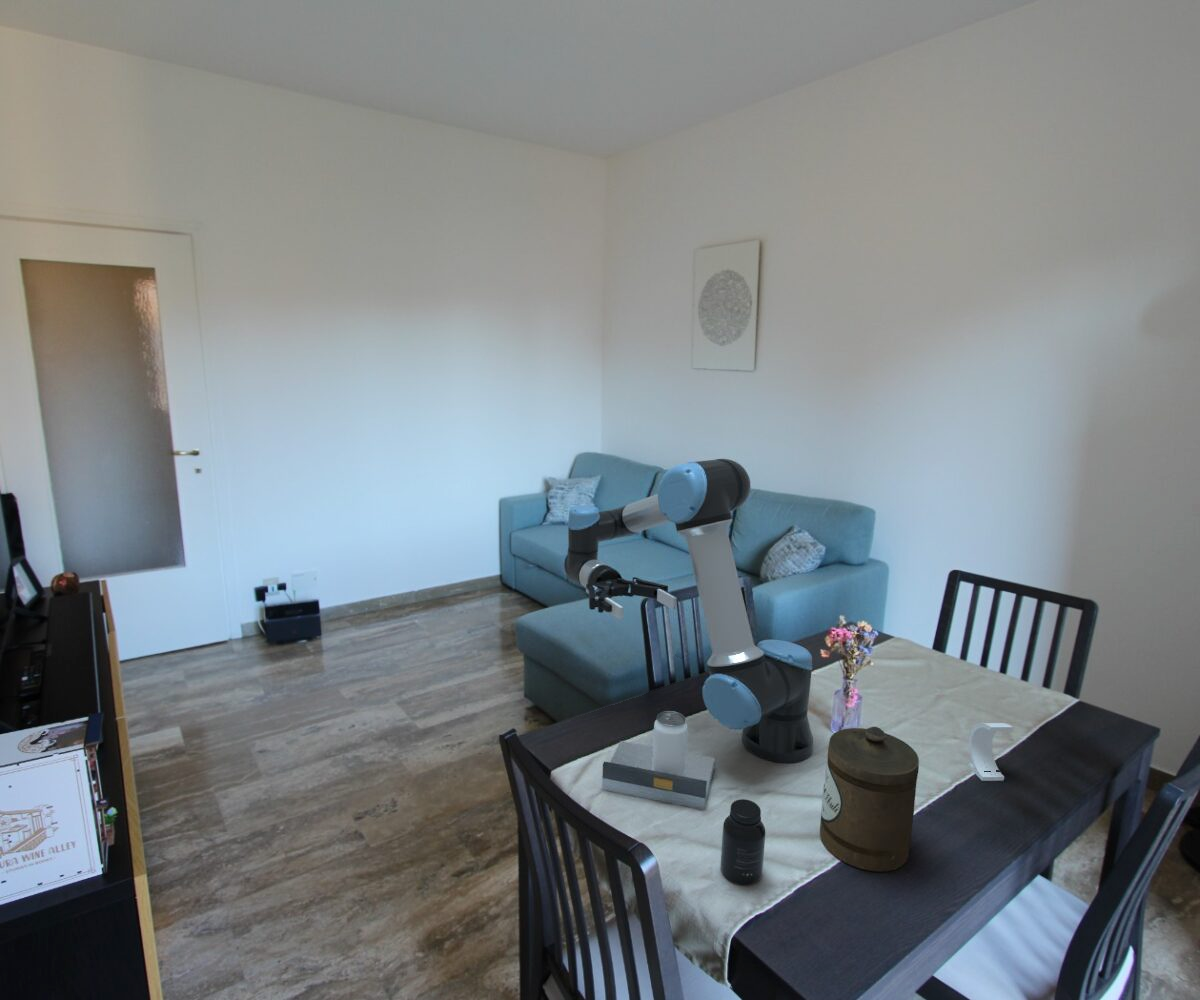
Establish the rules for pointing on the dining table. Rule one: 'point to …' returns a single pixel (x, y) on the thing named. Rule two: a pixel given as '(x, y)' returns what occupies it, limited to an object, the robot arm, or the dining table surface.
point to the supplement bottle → (743, 843)
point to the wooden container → (869, 798)
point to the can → (669, 743)
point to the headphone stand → (985, 750)
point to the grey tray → (657, 777)
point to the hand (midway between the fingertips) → (648, 608)
